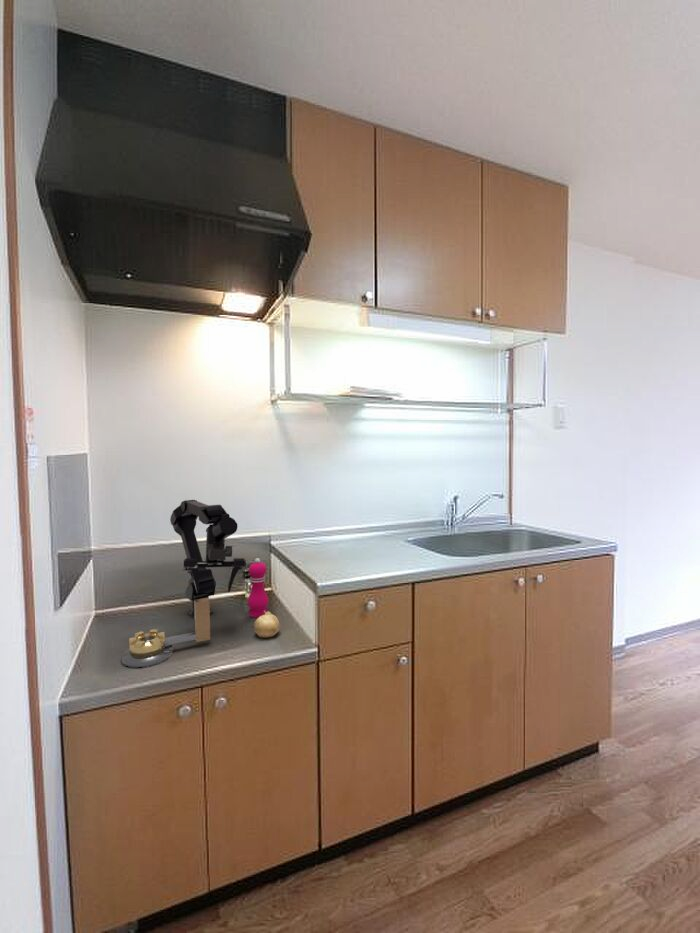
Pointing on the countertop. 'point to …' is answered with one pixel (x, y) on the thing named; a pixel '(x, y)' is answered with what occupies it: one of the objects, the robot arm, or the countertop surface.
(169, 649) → the flange
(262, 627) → the onion
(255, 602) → the pepper mill
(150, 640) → the crank handle
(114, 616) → the countertop surface
